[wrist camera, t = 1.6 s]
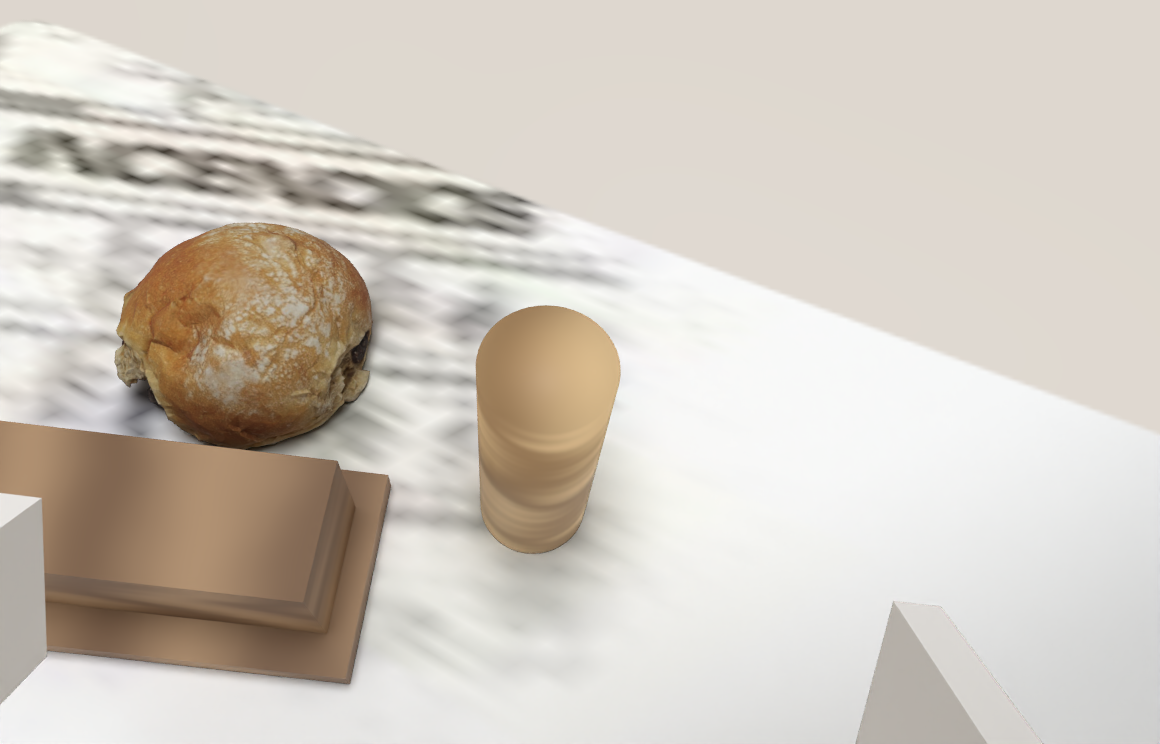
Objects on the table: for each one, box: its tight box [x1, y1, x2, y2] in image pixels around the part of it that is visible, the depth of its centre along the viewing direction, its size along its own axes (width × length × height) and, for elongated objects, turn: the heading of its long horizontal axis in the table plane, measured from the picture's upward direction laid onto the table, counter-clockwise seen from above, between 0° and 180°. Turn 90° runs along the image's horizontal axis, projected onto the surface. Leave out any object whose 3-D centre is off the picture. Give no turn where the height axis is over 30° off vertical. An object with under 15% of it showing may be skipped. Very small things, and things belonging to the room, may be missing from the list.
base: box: [0, 421, 391, 684], centre depth 33 cm, size 16×8×6 cm, turn 85°
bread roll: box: [115, 223, 373, 449], centre depth 38 cm, size 10×10×8 cm
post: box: [476, 306, 620, 554], centre depth 32 cm, size 4×4×12 cm
